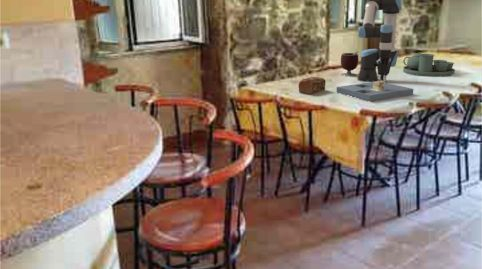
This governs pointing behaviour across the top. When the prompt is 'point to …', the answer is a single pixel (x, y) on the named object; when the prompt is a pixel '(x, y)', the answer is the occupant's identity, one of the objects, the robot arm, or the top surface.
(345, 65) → the mate gourd
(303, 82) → the bread
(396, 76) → the top surface
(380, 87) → the maple block
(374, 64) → the robot arm
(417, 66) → the tea set
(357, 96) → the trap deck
